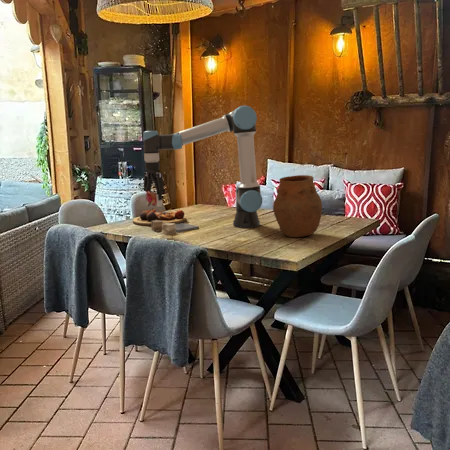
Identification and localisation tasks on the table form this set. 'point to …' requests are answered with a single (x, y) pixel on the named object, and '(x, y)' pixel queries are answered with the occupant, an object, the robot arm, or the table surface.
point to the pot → (297, 206)
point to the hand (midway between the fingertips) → (154, 205)
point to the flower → (151, 198)
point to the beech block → (168, 228)
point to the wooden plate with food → (159, 217)
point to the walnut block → (156, 225)
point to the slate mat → (185, 227)
